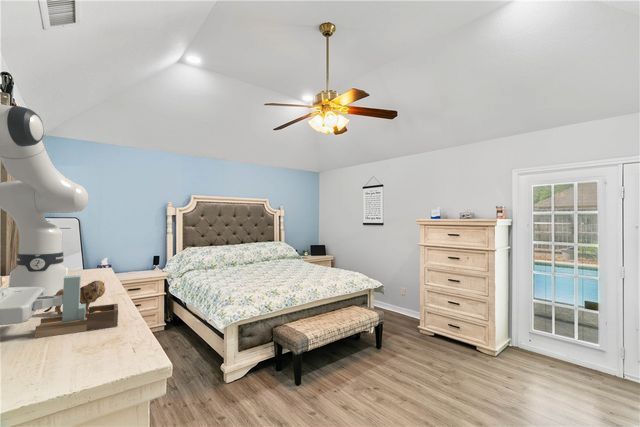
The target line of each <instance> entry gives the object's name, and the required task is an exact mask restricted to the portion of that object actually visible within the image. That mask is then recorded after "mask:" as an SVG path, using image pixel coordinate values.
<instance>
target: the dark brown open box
mask: <svg viewBox="0 0 640 427" xmlns="http://www.w3.org/2000/svg"><path fill="white" fill-rule="evenodd" d="M118 305H119V304H118V303H112V304H102V305H95V306H93V305H92V306H89V307H88V309H89V312H88V313H87V331H86V332H89V331H94V330H102V329H109V328H114V327H116V328H117V327H118V325H119V324H118V323H119V320H118V319H119V306H118ZM95 311H101V312H95ZM93 312H94V313H93Z"/></svg>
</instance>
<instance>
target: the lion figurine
mask: <svg viewBox="0 0 640 427" xmlns="http://www.w3.org/2000/svg"><path fill="white" fill-rule="evenodd" d="M105 292H106V286H105V282H103V281H102V280H99V279H97V280H93V281H91V282H89V283H88V284H86V285H83V286H80V304H86V313H89V307H90V304H92V303H95V302H96V301H97V299H99V298H101V297H102V296H103V295H104V294H105ZM60 295H63V289H61V290H59V291H58V292H57V293H56V295H54V296H60ZM53 307H54V311H55V312H57V315H58V316H62V312H63V311H62V309H61V307H62V305H60V306H52V307H49V308H46V309H45V310H44V311H43V313H47V312H49V311H51V310H52V309H53Z"/></svg>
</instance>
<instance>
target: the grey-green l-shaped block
mask: <svg viewBox="0 0 640 427" xmlns="http://www.w3.org/2000/svg"><path fill="white" fill-rule="evenodd" d="M81 278H82V275H81V274H77V275H74V274H73V275H68V276H65V277H64V287H63V304H62V311H61V312H62V315H61V316H62V323H63V322H70V321H78V320H85V314H86V304H81V303H80V288H81V281H82V280H81Z"/></svg>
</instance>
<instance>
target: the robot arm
mask: <svg viewBox="0 0 640 427" xmlns="http://www.w3.org/2000/svg"><path fill="white" fill-rule="evenodd" d="M44 133H45V130H44V123H43V120H42V118H41V117H40V116H39V115H38V114H37V113H36V112H35V111H34V110H32V109H30V108H27V107H25V106H24V107H23V106H20V105H14V106H13V105H8V104H3V103H0V161H1V164H2V165H3V167H4V170H6V173H7V174H8V175H9V176H10V177H11V178H13V179H15V180H9V181H2V182H0V210H2V211H4V212H5V213H7V215H9V216H10V217H11V219H12V220H13V222H14V223H15V226H16V227H17V231H18V244H19V245H18V253H17V255H16V260H15V261H16V265H17V266H16V267H15V268H13V269H12V270H11V271H10V273H9V278H8V287H4V286H3V285H0V326H8V325H17V324H22V323H26V322H28V321H30V319H31V318H32V316H33V315H34V314H35V313H36V311H37V310H38V311H39V310H44V309H45V310H46V309H48V308H50V307H52V306H53V307H56V306H60V305H61V306H63V295H60V296H55V295H56V293H57V292H58V291H59V290H61V289H63V287H64V277H65V276H69V275H68V273H69V272H68V270H69V269H68V267H67V266H65V265H64V263H63V262H64V259H65V255H64V252H63V236H64V235H63V233H64V232H63V230H62V229H61V228H60V227H59V226H57V225H55V224H53V223H51V222H49V221H48V220H47V219H46V216H45V214H71V213H78V212H83V211H84V209H85V208H86V207H87V206H88V203H89V199H90V198H89V194H88V191H87V190H86V188H85V187H84V186H82V185H81V184H79V183H76V182H74V181H73V180H70V179H69V178H68V177H66V176H64V175H63V174H62V173H61V172H60V171H59V170H58V169H57V168H56V167H55V166H54V164H53V162H52V160H51V159H50V155H49V154H48V152H47V149H46V147H45V145H44V143H43V142H44V141H43V138H44ZM53 307H52V308H53Z"/></svg>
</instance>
